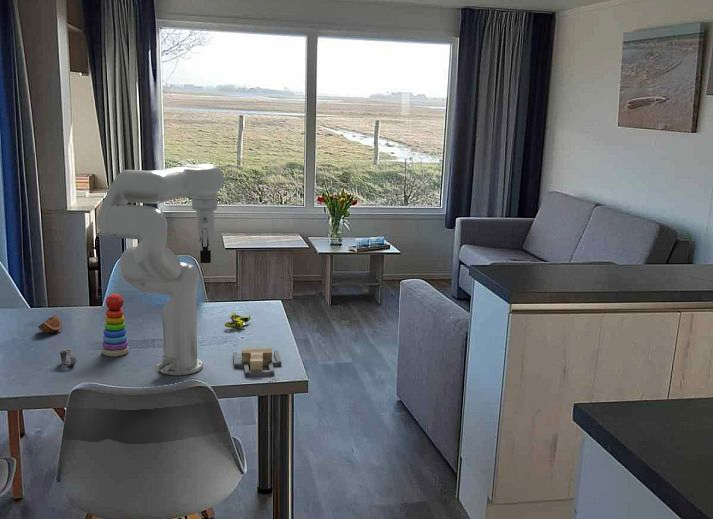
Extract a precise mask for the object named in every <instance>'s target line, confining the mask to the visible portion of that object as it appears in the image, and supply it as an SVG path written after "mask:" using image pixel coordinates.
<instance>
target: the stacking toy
mask: <svg viewBox="0 0 713 519" xmlns="http://www.w3.org/2000/svg"><path fill="white" fill-rule="evenodd" d="M105 306H106V307H107V310H106V311H105V315H106V316H105V324H104V330H103V337H102V340H103V342H102V348H101V353H102V355H104V356H106V357H115V358H116V357H120V356H124V355H126V354H127V353H129V351H130V347H129V341H128V335H127V334H126V333H127V329H126V322H125V316H124V309H122V307H123V306H124V299H123V297H122V296H121V295H120V294H118V293H111V294H109V295H107V297H106V299H105Z"/></svg>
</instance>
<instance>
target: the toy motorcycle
mask: <svg viewBox="0 0 713 519" xmlns="http://www.w3.org/2000/svg"><path fill="white" fill-rule="evenodd" d="M229 319H230V320H231V321H228V322H225V323H224V326H225V327H226V328H234V327H238V329H239V328H242V327H246V323H248V322H249V321H250V320H251V315H248V316H241V315H239V314H237V313H236V312H233V313H231V315H230V318H229Z"/></svg>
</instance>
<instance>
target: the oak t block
mask: <svg viewBox="0 0 713 519" xmlns="http://www.w3.org/2000/svg"><path fill="white" fill-rule="evenodd" d="M268 361H273V348H242V349H241V363H243V362H248V366H250V368H249V371H262V370H264V366H268Z"/></svg>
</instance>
